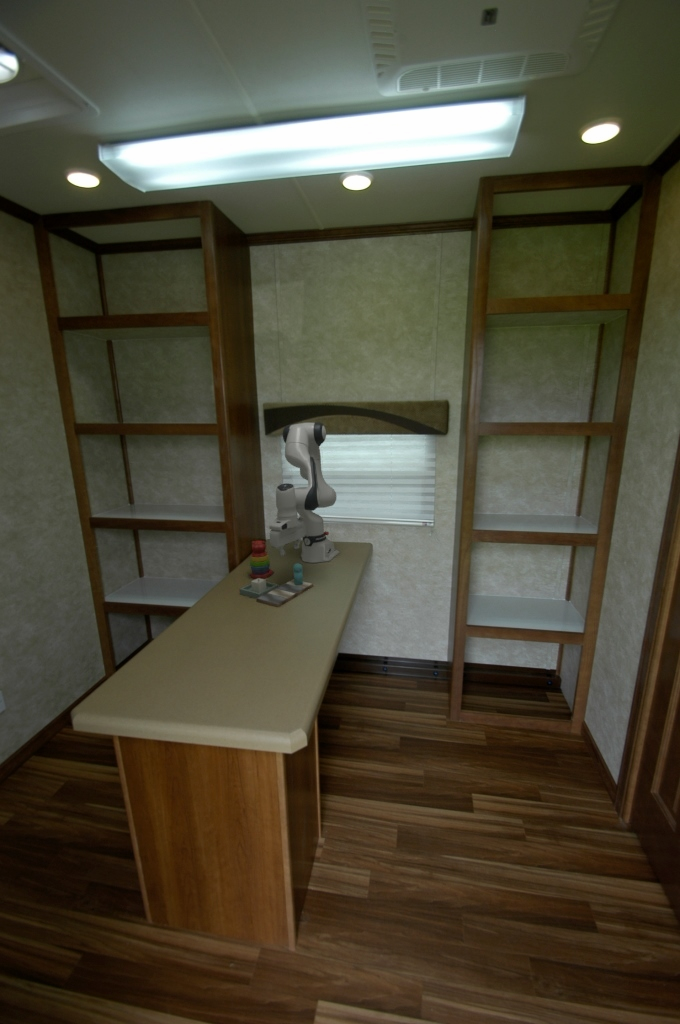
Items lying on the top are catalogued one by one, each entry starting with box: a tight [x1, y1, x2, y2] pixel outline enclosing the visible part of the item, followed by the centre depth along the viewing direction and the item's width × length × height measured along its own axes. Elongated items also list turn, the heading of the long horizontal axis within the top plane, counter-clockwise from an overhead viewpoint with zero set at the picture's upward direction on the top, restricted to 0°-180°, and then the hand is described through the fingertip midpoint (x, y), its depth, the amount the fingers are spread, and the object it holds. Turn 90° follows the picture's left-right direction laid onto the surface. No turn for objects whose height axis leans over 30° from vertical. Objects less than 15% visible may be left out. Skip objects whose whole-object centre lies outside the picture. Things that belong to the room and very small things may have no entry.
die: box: [250, 578, 267, 593], centre depth 189 cm, size 4×4×5 cm
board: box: [255, 578, 314, 608], centre depth 186 cm, size 24×12×1 cm, turn 147°
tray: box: [238, 581, 279, 600], centre depth 189 cm, size 12×12×2 cm
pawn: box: [292, 563, 304, 585], centre depth 192 cm, size 4×4×10 cm
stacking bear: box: [249, 540, 275, 580], centre depth 207 cm, size 11×10×18 cm
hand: (289, 551), depth 189 cm, fingers open, 8 cm apart
